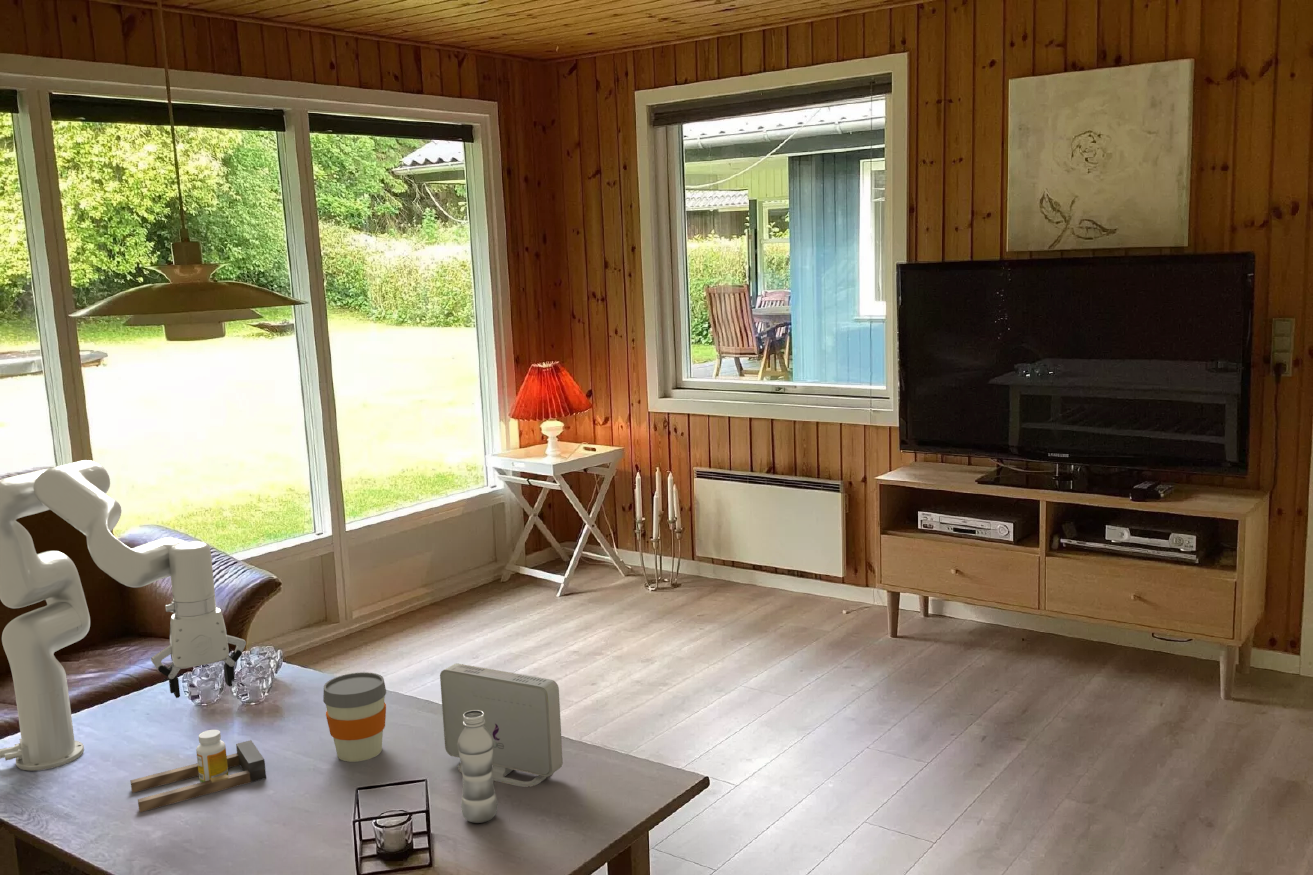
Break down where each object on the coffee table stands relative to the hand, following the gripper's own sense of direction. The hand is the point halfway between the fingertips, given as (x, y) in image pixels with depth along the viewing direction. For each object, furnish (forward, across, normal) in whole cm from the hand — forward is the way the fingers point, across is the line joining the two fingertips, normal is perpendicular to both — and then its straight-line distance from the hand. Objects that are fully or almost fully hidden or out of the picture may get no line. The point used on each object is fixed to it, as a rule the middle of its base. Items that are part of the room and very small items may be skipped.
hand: (203, 689), depth 219 cm
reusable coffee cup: (+18, +28, -6) cm, 34 cm away
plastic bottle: (+18, +37, -47) cm, 63 cm away
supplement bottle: (+19, 0, -1) cm, 19 cm away
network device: (+18, +49, -32) cm, 61 cm away
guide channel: (+18, -3, -1) cm, 19 cm away
